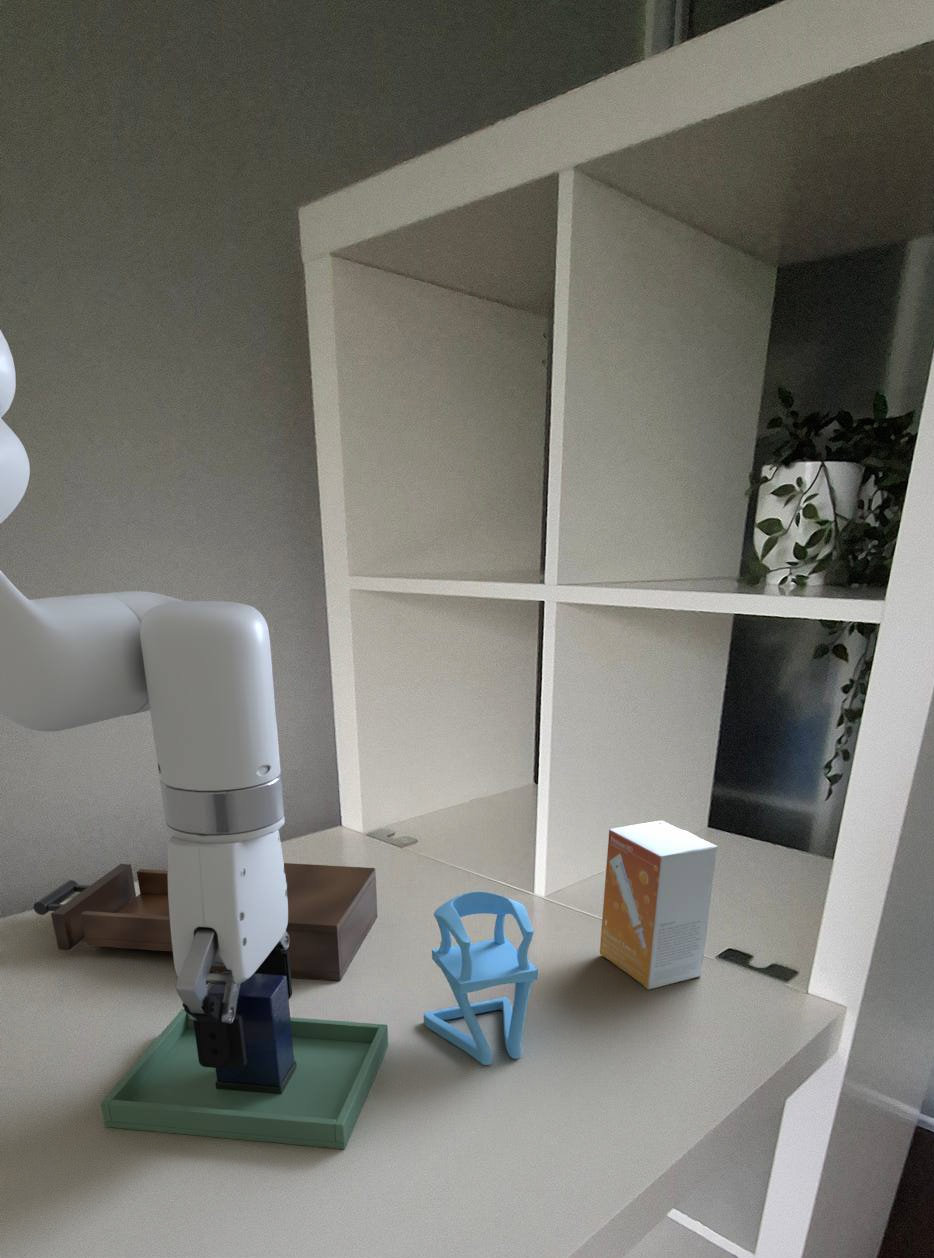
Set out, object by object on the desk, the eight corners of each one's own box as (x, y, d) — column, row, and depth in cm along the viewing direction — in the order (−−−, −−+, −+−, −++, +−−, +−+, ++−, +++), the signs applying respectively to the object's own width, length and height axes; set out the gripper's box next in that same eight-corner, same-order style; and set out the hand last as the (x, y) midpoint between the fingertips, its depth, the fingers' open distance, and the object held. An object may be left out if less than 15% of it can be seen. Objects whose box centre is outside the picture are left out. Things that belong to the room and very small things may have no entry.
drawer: (16, 947, 87) (7, 910, 85) (88, 894, 99) (82, 861, 97) (203, 960, 85) (198, 923, 83) (254, 904, 97) (250, 870, 95)
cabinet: (178, 969, 85) (170, 915, 82) (236, 908, 98) (231, 859, 96) (340, 981, 83) (336, 925, 81) (377, 917, 96) (375, 867, 94)
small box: (597, 955, 88) (606, 827, 83) (651, 943, 91) (663, 818, 85) (647, 991, 82) (661, 855, 76) (703, 977, 84) (720, 844, 79)
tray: (104, 1127, 63) (99, 1103, 62) (185, 1029, 75) (182, 1008, 74) (344, 1149, 61) (343, 1125, 60) (388, 1045, 73) (387, 1024, 72)
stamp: (215, 1089, 66) (202, 993, 63) (234, 1062, 70) (222, 970, 66) (281, 1094, 66) (271, 998, 63) (297, 1067, 69) (288, 974, 66)
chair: (457, 1073, 69) (456, 931, 64) (422, 1021, 76) (419, 890, 71) (547, 1053, 72) (553, 915, 67) (506, 1005, 79) (508, 877, 74)
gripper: (221, 767, 67) (243, 971, 74) (102, 844, 52) (145, 1093, 59) (319, 771, 66) (332, 978, 73) (228, 852, 51) (256, 1104, 58)
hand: (249, 1029), depth 66 cm, fingers open, 9 cm apart
